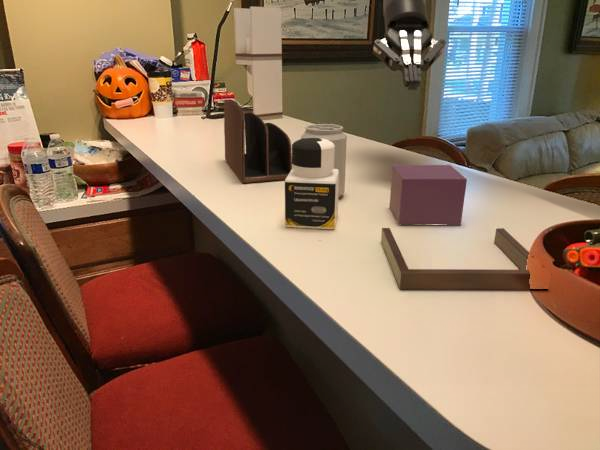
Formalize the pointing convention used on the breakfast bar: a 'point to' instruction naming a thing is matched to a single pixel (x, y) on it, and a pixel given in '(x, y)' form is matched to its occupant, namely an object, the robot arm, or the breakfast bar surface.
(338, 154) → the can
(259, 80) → the white stepped pillar
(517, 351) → the breakfast bar surface
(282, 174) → the letter holder
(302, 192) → the medicine bottle
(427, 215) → the block
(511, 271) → the bay
